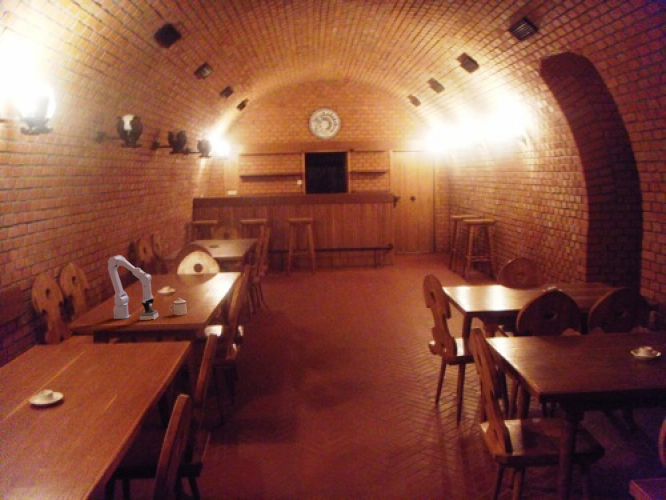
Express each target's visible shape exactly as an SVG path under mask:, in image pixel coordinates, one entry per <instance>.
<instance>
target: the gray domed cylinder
mask: <svg viewBox="0 0 666 500" xmlns="http://www.w3.org/2000/svg"><path fill="white" fill-rule="evenodd" d="M153 310H154V309H153V305H152V303H150V304H149V312H146V311H145V310H144V311H145V313H152V312H153Z"/></svg>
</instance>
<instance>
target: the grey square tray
mask: <svg viewBox="0 0 666 500" xmlns="http://www.w3.org/2000/svg"><path fill="white" fill-rule="evenodd" d="M152 310H153V312H152V313H145V310H143V311H142V312H140V313H139V314H140V316H139V320H140V321H141V320H143V321H145V320H146V321H147V320H151V319H154V320H156V319H157V318H158V317H159V312H158V309H152Z"/></svg>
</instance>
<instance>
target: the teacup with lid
mask: <svg viewBox="0 0 666 500" xmlns="http://www.w3.org/2000/svg"><path fill="white" fill-rule="evenodd" d="M172 306H173V309H172V308H171V307H172ZM168 308H169V310H170V311H171V312H173V313H174V316H184V315H187V314H188V311H187V309H188V308H187V300H184V299H182V298H181V297H177V299H176V300H175V301H173V302H172V304H170V305H169V307H168Z"/></svg>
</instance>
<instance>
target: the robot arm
mask: <svg viewBox="0 0 666 500" xmlns="http://www.w3.org/2000/svg"><path fill="white" fill-rule="evenodd" d="M107 265H108V266H107V271H108V273H109V277H110V280H111V283H112V286H113V290H114V293H115V294H114V295H113V298H114V299H113V300H114V304H115V305H114V306H113V309H112V310H113V319H114V320H115V319H116V320H117V319H118V320H119V319H123V320H124V319H128V318H130V317H131V316H132V315H131V314H129V306H128V304H129V302H130V297H129V296H128V294H127V291H125V290H124V288H123V285H122V281H121V279H120V276H119V273H118V268H119V267H120V266H121V267H122V266H123V267H124V268H126V269H127V270H128V271H131V272H132V275H133V276H135V277H136V278H137V279H139V282H140V283H141V287H142V288H141V289H142V299H141V300H142V301H141V304H142V306H143V308H144V311H146V312H149V304H150V303H152V306H153V304H154V301H155V298H154V295H153V294H152V284H151V283H152V282H151V281H152V280H153V279H152V278H153V277H152V275H151V274H150V273H146V272H145V271H144V270H142V269H141V267H135V266H134V265H132V264H131V263H130V262H129V261H128V260H127V259H126V257H124V256H123V255H121V254H118V255H115V256H111V257H110V258H109V259H108V260H107Z"/></svg>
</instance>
